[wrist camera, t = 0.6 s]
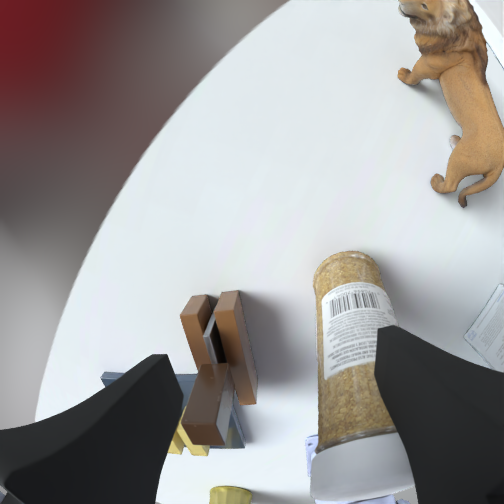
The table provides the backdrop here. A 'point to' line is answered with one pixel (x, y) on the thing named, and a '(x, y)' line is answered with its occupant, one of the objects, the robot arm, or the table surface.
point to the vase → (229, 495)
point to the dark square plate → (186, 384)
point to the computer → (492, 24)
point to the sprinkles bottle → (353, 386)
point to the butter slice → (194, 449)
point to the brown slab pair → (223, 339)
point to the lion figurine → (458, 88)
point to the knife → (210, 395)
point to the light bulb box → (490, 331)
